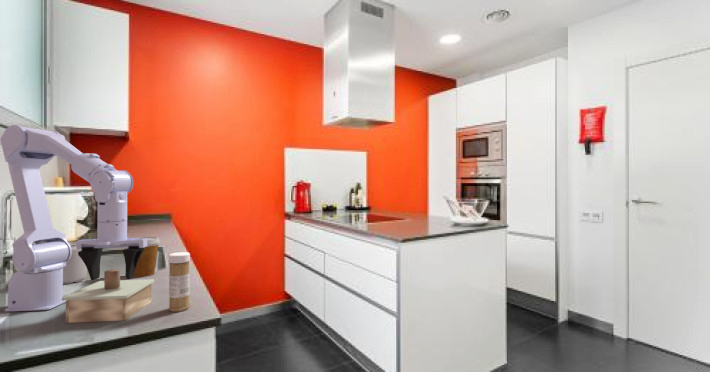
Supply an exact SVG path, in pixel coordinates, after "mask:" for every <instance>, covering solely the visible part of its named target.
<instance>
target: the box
mask: <svg viewBox="0 0 710 372" xmlns="http://www.w3.org/2000/svg"><path fill="white" fill-rule="evenodd" d="M151 302H152V283H151V284H150V285H148V286H146V287H145V288H143V289H141V290H140V291H138V292H136V293H135V294H133V295H132V296H130V297H128V298H124V299H94V300H66V302H65V324H68V323H69V324H71V323H91V322H93V323H94V322H96V323H97V322H117V321H118V322H119V321H126V320H128V319H129V318H131V317H132V316H134V315H135V314H137V313H138V312H139V311H141V310H142V309H144V308H145V307H147V305H149V304H150V303H151Z"/></svg>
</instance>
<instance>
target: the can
mask: <svg viewBox="0 0 710 372" xmlns="http://www.w3.org/2000/svg"><path fill="white" fill-rule="evenodd" d="M68 243H69V244H70V246H71V248H72V256H71V258H70V260H69V261H68V262H67V263H66V266H65V267H63V285H70V284H71V285H72V284H74V283H73V282H76V283H81V282H83V281H84V280H85V279H87V277H88V270H87V267H86V265H85V263H84V262H83V260H82V259H81V258H80V256H79V255H78V252H79V251H81V250H82V249H76V241H68ZM76 283H75V284H76Z"/></svg>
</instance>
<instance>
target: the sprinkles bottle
mask: <svg viewBox="0 0 710 372" xmlns="http://www.w3.org/2000/svg"><path fill="white" fill-rule="evenodd" d="M190 260H191V254H190V252H187V251H180V252H173V253H170V254H169V255H168V263H169V264H168V265H169V267H168V268H169V272H168V274H169V275H168V299H169V301H168V302H169V305H168V306H169V308H168V310H169V311H170V312H175V313H176V312H183V311H186V310H188V309H189V308H190V277H191V276H190Z"/></svg>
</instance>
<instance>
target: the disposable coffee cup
mask: <svg viewBox="0 0 710 372" xmlns="http://www.w3.org/2000/svg"><path fill="white" fill-rule="evenodd" d="M138 238H147V247H145V249H144V251H143V253H142V255H141V256H140V258H139V261H138V263H137V266H136V269H135V273H134V277H133V278H145V277H150V276H152V275H154V274H156V273H155V272H156V267H157V265H156V264H157V259H158V258H157V257H158V249H159V246H160V243H161V241H160V238H159V237H157V236H143V237H138ZM144 276H145V277H144Z"/></svg>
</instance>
